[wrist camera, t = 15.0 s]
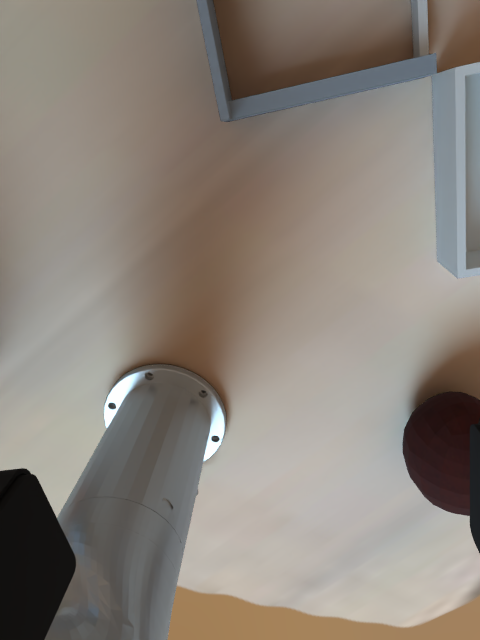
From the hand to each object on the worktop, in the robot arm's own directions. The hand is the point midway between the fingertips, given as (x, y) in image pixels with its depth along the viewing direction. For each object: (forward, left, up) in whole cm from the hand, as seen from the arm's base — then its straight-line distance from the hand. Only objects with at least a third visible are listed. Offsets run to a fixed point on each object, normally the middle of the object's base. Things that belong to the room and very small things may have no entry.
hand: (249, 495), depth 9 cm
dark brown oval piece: (-23, -13, -31) cm, 40 cm away
